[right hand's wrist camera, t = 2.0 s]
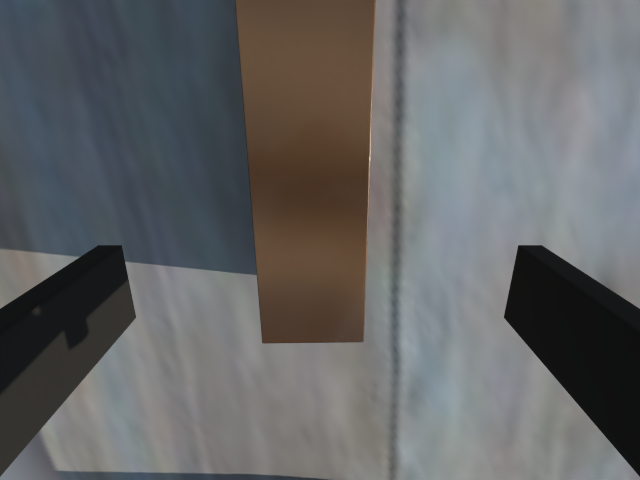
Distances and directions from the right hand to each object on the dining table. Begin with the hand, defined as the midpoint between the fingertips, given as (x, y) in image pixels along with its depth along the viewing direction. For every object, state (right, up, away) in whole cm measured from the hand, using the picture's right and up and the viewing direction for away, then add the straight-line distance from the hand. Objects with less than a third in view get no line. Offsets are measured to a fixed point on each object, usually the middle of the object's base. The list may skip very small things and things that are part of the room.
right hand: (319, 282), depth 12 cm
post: (-1, +34, +3) cm, 34 cm away
